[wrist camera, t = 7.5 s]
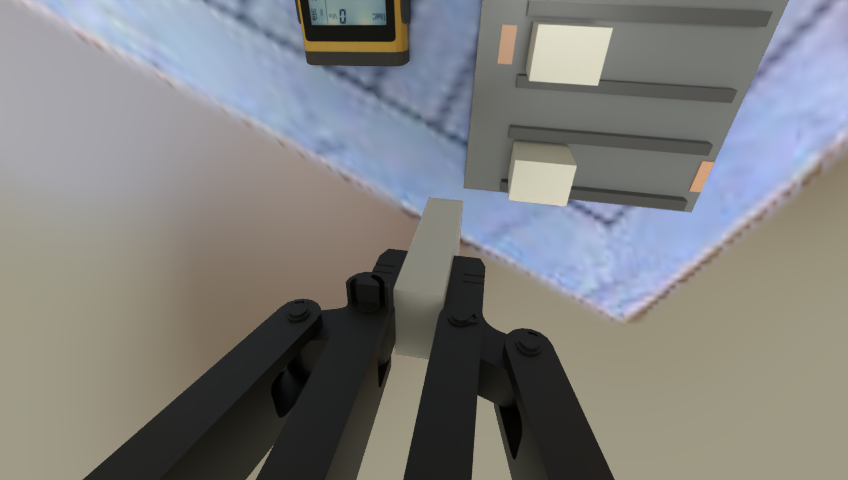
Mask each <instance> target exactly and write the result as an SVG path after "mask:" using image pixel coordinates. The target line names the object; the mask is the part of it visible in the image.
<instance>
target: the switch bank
mask: <svg viewBox="0 0 848 480" xmlns="http://www.w3.org/2000/svg"><path fill="white" fill-rule="evenodd" d="M788 1H789V0H482V8H481V18H480V28H479V38H478V49H477V59H476V69H475V79H474V89H473V99H472V109H471V119H470V129H469V139H468V149H467V159H466V169H465V179H464V188H468V189H478V190H487V191H496V192H506V193H508V173H509V167H510V161H511V155H512V149H513V143H514V140H521V141H532V142H544V143H555V144H566V145H568V147H569V149H570V151H571V154H572V156H573V158H574V161H575V163H576V165H577V167H576V171H575V175H574V179H573V182H572V186H571V190H570V194H569V198H568V199H571V200H581V201H590V202H600V203H609V204H618V205H628V206H637V207H646V208H656V209H665V210H675V211H684V212H692V210H693V208H694V205H695V203H696V201H697V199H698V197H699V195H700V192H701V191H702V188H703V186H704V184H705V182H706V180H707V177H708V175H709V173H710V171H711V169H712V167H713V164H714V162H715V160H716V158H717V155H718V153H719V151H720V149H721V147H722V145H723V142H724V140H725V138H726V136H727V134H728V132H729V129H730V127H731V125H732V123H733V121H734V119H735V116H736V114H737V112H738V110H739V108H740V105H741V103H742V101H743V99H744V97H745V95H746V92H747V90H748V88H749V86H750V84H751V82H752V79H753V77H754V75H755V73H756V71H757V69H758V66H759V64H760V62H761V60H762V58H763V56H764V53H765V51H766V49H767V47H768V45H769V43H770V40H771V38H772V36H773V34H774V32H775V29H776V27H777V25H778V23H779V21H780V19H781V16H782V14H783V12H784V10H785V8H786V6H787V3H788ZM533 21H548V22H568V23H588V24H599V25H603V26H607V27H611V28H613V30H612V34H611V37H610V41H609V45H608V49H607V53H606V57H605V60H604V64H603V68H602V72H601V76H600V79H599V83H598V86H594V85H580V84H565V83H551V82H536V81H529V80H528V76H527V73H526V64H527V58H528V52H529V45H530V39H531V33H532V27H533Z"/></svg>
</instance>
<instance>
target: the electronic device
mask: <svg viewBox="0 0 848 480" xmlns="http://www.w3.org/2000/svg"><path fill="white" fill-rule="evenodd" d="M295 4H296V10H297V16H298V20H299V23H300V24H301V25H302V32H303V38H304V45H305V53H306V59H307V63H308V64H310V65H341V66H402V65H405V64H406V63H408V61H409V49H408V23H410V0H295Z"/></svg>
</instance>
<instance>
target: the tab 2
mask: <svg viewBox="0 0 848 480" xmlns="http://www.w3.org/2000/svg"><path fill="white" fill-rule="evenodd" d="M576 167H577V165H576V163H575V161H574V158H573V156H572V154H571V151H570V149H569V147H568V145H566V144H555V143H544V142H532V141H521V140H514V143H513V149H512V155H511V161H510V167H509V173H508V196H509V200H512V201H521V202H531V203H540V204H549V205H558V206H566V205H567V202H568V198H569V194H570V190H571V186H572V182H573V179H574V175H575V171H576Z"/></svg>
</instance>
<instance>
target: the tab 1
mask: <svg viewBox="0 0 848 480" xmlns="http://www.w3.org/2000/svg"><path fill="white" fill-rule="evenodd" d="M612 30H613V28H611V27H607V26H603V25H599V24H588V23H568V22H548V21H533V27H532V33H531V39H530V45H529V52H528V58H527V64H526V73H527V76H528V80H529V81H536V82H551V83H565V84H580V85H594V86H598V83H599V79H600V76H601V72H602V68H603V64H604V60H605V57H606V53H607V49H608V45H609V41H610V37H611V34H612Z"/></svg>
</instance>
